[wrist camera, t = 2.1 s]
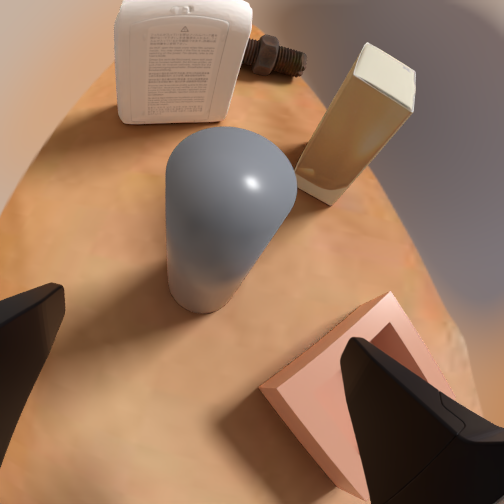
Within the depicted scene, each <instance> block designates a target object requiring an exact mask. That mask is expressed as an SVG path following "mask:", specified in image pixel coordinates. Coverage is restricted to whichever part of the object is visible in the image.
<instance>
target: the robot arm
mask: <svg viewBox="0 0 504 504" xmlns="http://www.w3.org/2000/svg"><path fill="white" fill-rule="evenodd" d="M64 314H65V297H64V288H63V286H62V285H60V284H56V283H48V284H45V285H42V286H40V287H37V288H34V289H31V290H28V291H26V292H23V293H20V294H17V295H15V296H12V297H9V298H6V299H4V300H1V301H0V467H1V465H2V462H3V459H4V456H5V453H6V451H7V448H8V445H9V443H10V440H11V437H12V435H13V432H14V430H15V427H16V425H17V422H18V420H19V418H20V415H21V413H22V411H23V408H24V406H25V404H26V401H27V399H28V397H29V395H30V393H31V390H32V388H33V386H34V384H35V382H36V380H37V378H38V376H39V374H40V372H41V369H42V367H43V365H44V363H45V361H46V359H47V357H48V355H49V353H50V350H51V348H52V345H53V343H54V340H55V337H56V335H57V332H58V330H59V327H60V325H61V322H62V320H63V317H64ZM340 366H341V373H342V379H343V385H344V392H345V398H346V403H347V407H348V411H349V415H350V418H351V422H352V426H353V430H354V434H355V438H356V442H357V446H358V450H359V454H360V458H361V462H362V466H363V470H364V475H365V479H366V483H367V488H368V492H369V497H370V501H371V504H504V428H502V427H499V426H496V425H494V424H493V423H491V422H489V421H487V420H486V419H484V418H482V417H481V416H479V415H477V414H475V413H474V412H472V411H470V410H469V409H467V408H465V407H464V406H462V405H461V404H459V403H457V402H456V401H454V400H453V399H451V398H450V397H448V396H447V395H445V394H444V393H442V392H441V391H439V390H438V389H437V388H435V387H434V386H432V385H431V384H429V383H428V382H426V381H425V380H423V379H422V378H421V377H419V376H418V375H416V374H415V373H413V372H412V371H410V370H409V369H408V368H406V367H405V366H403V365H402V364H400V363H399V362H397V361H396V360H395V359H393V358H392V357H390V356H389V355H387V354H386V353H384V352H383V351H382V350H380V349H379V348H377V347H376V346H374V345H373V344H371V343H370V342H369V341H367V340H366V339H364V338H362V337H351V338H350V339H349V341H348V343H347V345H346V347H345V349H344V351H343V353H342V355H341V358H340Z"/></svg>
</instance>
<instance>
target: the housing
mask: <svg viewBox="0 0 504 504" xmlns="http://www.w3.org/2000/svg"><path fill="white" fill-rule="evenodd" d="M351 337H362V338H364V339H366V340H367V341H369V342H370V343H371V344H373V345H374V346H376V347H377V348H379V349H380V350H382V351H383V352H384V353H386V354H387V355H389V356H390V357H392V358H393V359H395V360H396V361H397V362H399V363H400V364H402V365H403V366H405V367H406V368H408V369H409V370H410V371H412V372H413V373H415V374H416V375H418V376H419V377H421V378H422V379H423V380H425V381H426V382H428V383H429V384H431V385H432V386H434V387H435V388H437V389H438V390H439V391H441V392H442V393H444V394H445V395H447V396H448V397H450V398H451V399H453V400H454V399H455V398H456V396H455V394H454V393H453V391H452V389H451V387H450V385H449V384H448V382H447V380H446V378H445V377H444V375H443V373H442V372H441V370H440V368H439V366H438V365H437V363H436V361H435V360H434V358H433V356H432V355H431V353H430V351H429V350H428V348H427V346H426V345H425V343H424V342H423V340H422V338H421V337H420V335H419V334H418V332H417V330H416V329H415V327H414V326H413V324H412V323H411V321H410V319H409V318H408V316H407V315H406V313H405V312H404V310H403V309H402V307H401V306H400V304H399V303H398V301H397V300H396V298H395V297H394V295H393V294H392V292H391V291H389V292H387V293H385V294H383V295H381V296H379V297H377V298H375V299H373V300H371V301H369V302H366V303H364V304H362V305H360V306H359V307H358V308H357V309H356V310H355V311H353V312H352V313H351V314H350V315H349V316H348V317H347V318H345V319H344V320H343V321H342V322H341V323H339V324H338V325H337V326H336V327H335V328H334V329H332V330H331V331H330V332H329V333H328V334H326V335H325V336H324V337H323V338H321V339H320V340H319V341H318V342H317V343H315V344H314V345H313V346H312V347H310V348H309V349H308V350H307V351H305V352H304V353H303V354H302V355H300V356H299V357H298V358H296V359H295V360H294V361H293V362H291V363H290V364H289V365H287V366H286V367H285V368H283V369H282V370H281V371H279V372H278V373H277V374H275V375H274V376H273V377H271V378H270V379H269V380H267V381H266V382H265V383H263V384H262V385H260V386H259V387H258V388H259V389H260V391H261V392H262V393H263V395H264V396H265V397H266V399H267V400H268V401H269V403H270V404H271V405H272V407H273V408H274V409H275V411H276V412H277V413H278V415H279V416H280V417H281V419H282V420H283V421H284V422H285V424H286V425H287V426H288V428H289V429H290V430H291V431H292V433H293V434H294V435H295V436H296V438H297V439H298V440H299V442H300V443H301V444H302V445H303V447H304V448H305V449H306V450H307V451H308V453H309V454H310V455H311V456H312V458H313V459H314V460H315V461H316V462H317V464H318V465H319V466H320V467H321V469H322V470H323V471H324V472H325V473H326V474H327V476H328V477H329V478H330V479H331V480H332V482H333V483H334V484H335V485H336V486H337V487H338V488H340V489H342V490H344V491H346V492H348V493H350V494H352V495H354V496H356V497H358V498H360V499H362V500H364V501H367V500H368V499H369V498H370V497H369V492H368V488H367V483H366V479H365V475H364V470H363V466H362V462H361V458H360V454H359V450H358V446H357V442H356V438H355V434H354V430H353V426H352V422H351V418H350V415H349V411H348V407H347V403H346V398H345V392H344V385H343V379H342V373H341V366H340V358H341V355H342V353H343V351H344V349H345V347H346V345H347V343H348V341H349V339H350V338H351Z"/></svg>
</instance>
